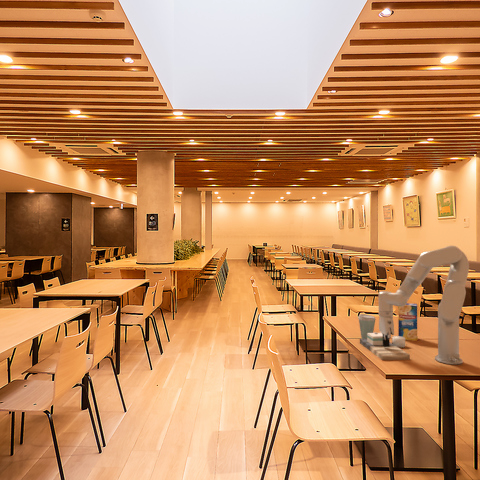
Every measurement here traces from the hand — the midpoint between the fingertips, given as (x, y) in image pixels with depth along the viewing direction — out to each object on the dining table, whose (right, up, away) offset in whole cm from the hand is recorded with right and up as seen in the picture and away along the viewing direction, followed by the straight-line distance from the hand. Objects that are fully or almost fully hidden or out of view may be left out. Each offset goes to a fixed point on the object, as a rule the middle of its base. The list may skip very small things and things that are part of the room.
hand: (386, 346), depth 207 cm
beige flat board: (0, -4, +4) cm, 5 cm away
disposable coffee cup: (-1, -4, +29) cm, 29 cm away
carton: (-1, -1, +10) cm, 10 cm away
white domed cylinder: (+13, -4, +13) cm, 19 cm away
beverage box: (+25, -4, +29) cm, 38 cm away
